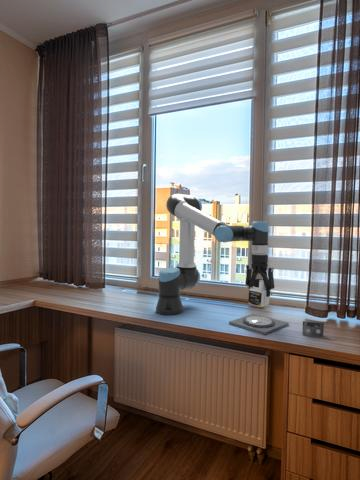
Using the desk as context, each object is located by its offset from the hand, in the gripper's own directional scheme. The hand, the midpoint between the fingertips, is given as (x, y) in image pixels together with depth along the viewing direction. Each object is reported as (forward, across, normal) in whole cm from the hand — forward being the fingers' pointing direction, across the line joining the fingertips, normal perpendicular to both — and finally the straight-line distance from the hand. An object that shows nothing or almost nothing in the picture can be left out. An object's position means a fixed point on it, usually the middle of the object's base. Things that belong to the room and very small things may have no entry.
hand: (259, 301), depth 149 cm
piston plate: (+11, 0, 0) cm, 11 cm away
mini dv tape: (+12, +24, +5) cm, 27 cm away
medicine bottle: (+1, 0, 0) cm, 2 cm away
